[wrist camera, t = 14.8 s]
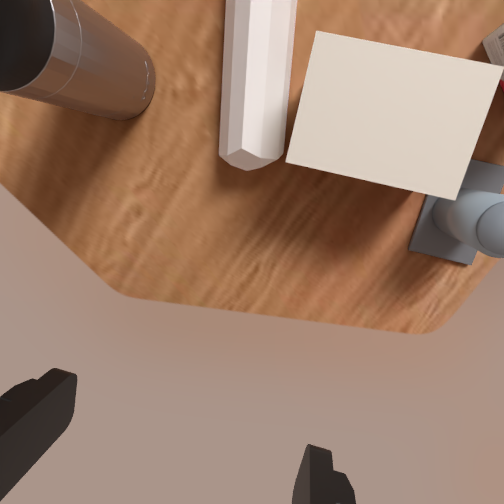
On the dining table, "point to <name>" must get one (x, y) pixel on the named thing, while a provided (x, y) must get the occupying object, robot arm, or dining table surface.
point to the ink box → (496, 49)
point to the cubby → (391, 114)
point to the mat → (441, 243)
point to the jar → (473, 220)
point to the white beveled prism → (256, 81)
